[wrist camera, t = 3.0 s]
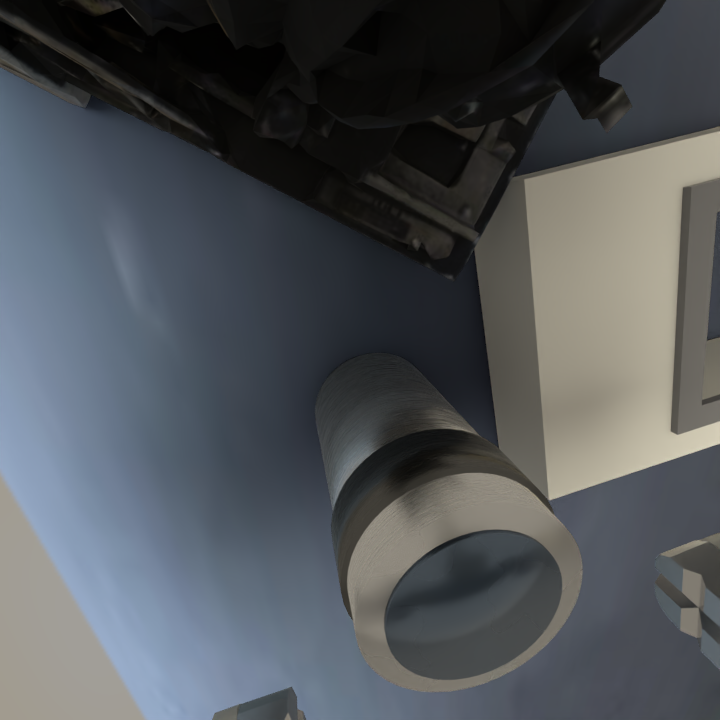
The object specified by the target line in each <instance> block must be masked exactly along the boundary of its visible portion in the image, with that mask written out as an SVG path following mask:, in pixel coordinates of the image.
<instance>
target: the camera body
mask: <svg viewBox="0 0 720 720" xmlns="http://www.w3.org/2000/svg"><path fill="white" fill-rule="evenodd" d="M717 212H720V126H719V127H715V128H711V129H707V130H703V131H699V132H695V133H691V134H687V135H683V136H679V137H675V138H671V139H667V140H663V141H658V142H654V143H650V144H646V145H642V146H638V147H634V148H630V149H626V150H622V151H618V152H614V153H610V154H606V155H602V156H598V157H594V158H590V159H586V160H582V161H578V162H574V163H569V164H565V165H561V166H557V167H553V168H549V169H545V170H541V171H537V172H533V173H529V174H525V175H521V176H517V177H513V178H512V179H511V181H510V183H509V185H508V187H507V189H506V191H505V193H504V194H503V196H502V198H501V200H500V202H499V204H498V206H497V208H496V210H495V212H494V214H493V216H492V217H491V219H490V221H489V223H488V225H487V226H486V228H485V230H484V232H483V234H482V236H481V237H480V239H479V241H478V243H477V245H476V247H475V248H474V250H475V259H476V267H477V275H478V283H479V291H480V299H481V307H482V315H483V323H484V331H485V339H486V347H487V355H488V364H489V372H490V380H491V388H492V396H493V404H494V412H495V420H496V428H497V436H498V444H499V449H500V450H501V451H502V452H503V453H504V454H505V455H506V456H507V457H508V458H509V459H510V460H511V461H512V462H513V463H514V464H515V465H516V466H517V467H518V468H519V469H520V470H521V472H522V473H523V474H524V475H525V476H526V477H527V478H528V479H529V480H530V481H531V482H532V483H533V484H534V485H535V486H536V487H537V488H538V489H539V490H540V491H541V493H542V494H543V495H544V496H545V497H546V498H547V499H548V500H552V499H555V498H558V497H561V496H564V495H567V494H570V493H573V492H576V491H579V490H582V489H585V488H588V487H591V486H594V485H597V484H600V483H603V482H606V481H609V480H612V479H615V478H618V477H621V476H624V475H627V474H630V473H633V472H636V471H639V470H642V469H645V468H648V467H651V466H654V465H657V464H660V463H663V462H666V461H669V460H672V459H675V458H678V457H681V456H684V455H687V454H690V453H693V452H696V451H699V450H702V449H705V448H708V447H711V446H714V445H717V444H720V337H718V338H715V339H711V340H708V341H707V331H708V318H709V305H710V293H711V280H712V267H713V255H714V242H715V229H716V216H717Z"/></svg>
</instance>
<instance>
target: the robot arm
mask: <svg viewBox="0 0 720 720" xmlns="http://www.w3.org/2000/svg"><path fill="white" fill-rule="evenodd" d="M655 568H656V569H657V570H658V571H659V572H660V573H661V574H660V575H659V577H658V579H657V580H656V582H655V595H656V598H657V600H658V602H659V604H660V606H661V608H662V610H663V611H664V613H665V614H666V615H667V617H668V618H669V619H670V620H671V621H672V622H673V623H674V624H675V625H676V626H677V627H678V629H679V630H681V631H683V632H685V633H687V634H690V635H692V636H694V637H696V638H697V640H698V643H699V647H700V650H701V652H702V653H703V654H704V655H705V656H706V657H707V658H708V659H709V660H710V661H711V662H712V663H713V664H714V665H715V666H716V667H717V668H718V669H719V670H720V533H716V534H714V535H711V536H708V537H706V538H703V539H701V540H696V541H693V542H690V543H688V544H685V545H683V546H680V547H677V548H675V549H672V550H669V551H667V552H664V553H662V554H659V555H658V557H657V558H656V559H655ZM212 720H306V718H305V715H304V713H303V711H301V710H298V709H297V696H296V694H295V692H294V690H293V688H292V687H289V688H286V689H284V690H281V691H278V692H275V693H272V694H269V695H266V696H263V697H260V698H257V699H254V700H252V701H249V702H246V703H243V704H239V705H236V706H233V707H230V708H228V709H225V710H222V711H219V712H217V713H215V714H214V716H213V719H212Z"/></svg>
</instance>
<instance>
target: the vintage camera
mask: <svg viewBox="0 0 720 720" xmlns="http://www.w3.org/2000/svg"><path fill="white" fill-rule="evenodd" d="M665 1H666V0H0V67H1V68H3V69H5V70H7V71H9V72H11V73H13V74H15V75H17V76H18V77H20V78H22V79H24V80H26V81H28V82H30V83H32V84H34V85H36V86H38V87H40V88H42V89H44V90H46V91H48V92H50V93H51V94H53V95H55V96H57V97H59V98H61V99H63V100H65V101H67V102H69V103H71V104H74V105H77V106H80V107H83V108H86V106H87V104H88V102H89V99H90V97H91V95H93V96H95V97H97V98H99V99H101V100H103V101H105V102H107V103H109V104H111V105H113V106H115V107H117V108H119V109H121V110H123V111H124V112H126V113H128V114H130V115H132V116H134V117H136V118H138V119H140V120H142V121H144V122H146V123H148V124H150V125H152V126H154V127H156V128H158V129H160V130H163V131H167V132H169V133H171V134H173V135H175V136H177V137H179V138H181V139H183V140H185V141H187V142H189V143H190V144H192V145H194V146H196V147H198V148H200V149H202V150H204V151H207V152H209V153H211V154H212V155H214V156H216V157H217V158H219V159H220V160H222V161H224V162H225V163H227V164H229V165H231V166H233V167H234V168H236V169H238V170H240V171H242V172H244V173H246V174H248V175H250V176H252V177H254V178H256V179H258V180H260V181H262V182H264V183H266V184H268V185H269V186H271V187H273V188H275V189H277V190H279V191H281V192H283V193H285V194H287V195H289V196H291V197H293V198H295V199H296V200H298V201H300V202H302V203H304V204H306V205H308V206H310V207H312V208H313V209H315V210H317V211H319V212H321V213H323V214H325V215H327V216H329V217H331V218H332V219H334V220H336V221H338V222H340V223H342V224H344V225H346V226H348V227H349V228H351V229H353V230H355V231H357V232H359V233H361V234H363V235H365V236H367V237H369V238H371V239H373V240H375V241H377V242H379V243H381V244H383V245H385V246H387V247H389V248H391V249H392V250H394V251H396V252H398V253H400V254H402V255H404V256H406V257H408V258H410V259H412V260H414V261H416V262H418V263H420V264H422V265H424V266H426V267H427V268H429V269H431V270H433V271H435V272H437V273H439V274H440V275H442V276H444V277H446V278H448V279H450V280H452V281H455V280H456V278H457V276H458V275H459V273H460V272H461V270H462V269H463V267H464V265H465V264H466V262H467V261H468V259H469V258H470V256H471V254H472V252H473V250H474V248H475V247H476V245H477V243H478V241H479V239H480V237H481V236H482V234H483V232H484V230H485V228H486V226H487V225H488V223H489V221H490V219H491V217H492V216H493V214H494V212H495V210H496V208H497V206H498V204H499V202H500V200H501V198H502V196H503V194H504V193H505V191H506V189H507V187H508V185H509V183H510V181H511V179H512V177H513V175H514V173H515V172H516V170H517V168H518V166H519V164H520V162H521V160H522V158H523V156H524V154H525V152H526V151H527V149H528V147H529V145H530V143H531V141H532V139H533V137H534V135H535V133H536V131H537V130H538V128H539V126H540V124H541V122H542V120H543V118H544V116H545V114H546V112H547V110H548V109H549V107H550V105H551V103H552V101H553V99H554V97H555V95H556V94H557V93H558V92H559V91H561V90H563V89H564V90H566V91H567V93H568V95H569V97H570V98H571V100H572V102H573V104H574V105H575V107H576V109H577V111H578V112H579V114H580V116H581V118H582V119H583V120H586V119H595V118H598V120H599V121H600V123H601V125H602V126H603V128H604V130H605V131H606V133H608V131H609V130H610V129H611V128H612V127H613V126H614V125H615V124H616V123H617V122H618V121H619V120H620V119H621V118H622V117H623V116H624V115H625V114H626V113H627V111H628V110H629V109H630V108H631V107H632V105H631V103H630V101H629V99H628V97H627V95H626V93H625V91H624V89H623V87H622V86H621V84H618V83H615V82H612V81H610V80H607V79H604V78H602V77H599V68H600V65H601V64H602V63H603V62H604V61H605V60H606V59H607V58H608V57H610V56H611V55H612V54H613V53H614V52H615V51H616V50H617V49H618V48H620V47H621V46H622V45H623V44H624V43H625V42H626V41H627V40H628V39H630V38H631V37H632V36H633V35H634V34H635V33H636V32H637V31H638V30H639V29H641V28H642V27H643V26H644V25H645V24H646V23H647V22H648V21H649V20H651V19H652V18H653V17H654V16H655V15H656V14H657V13H658V12H659V11H660V9H661V8H662V6H663V5H664V3H665Z"/></svg>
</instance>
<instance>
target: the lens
mask: <svg viewBox="0 0 720 720" xmlns="http://www.w3.org/2000/svg"><path fill="white" fill-rule="evenodd" d="M315 420H316V425H317V430H318V436H319V441H320V446H321V452H322V457H323V462H324V468H325V473H326V478H327V484H328V489H329V494H330V500H331V505H332V510H333V514H332V522H331V532H332V541H333V547H334V553H335V559H336V564H337V570H338V576H339V582H340V588H341V594H342V598H343V602H344V605H345V607H346V610H347V612H348V614H349V616H350V617H351V619H352V620H353V622H354V628H355V633H356V638H357V642H358V646H359V649H360V651H361V653H362V655H363V657H364V659H365V660H366V662H367V663H368V665H369V666H370V667H371V668H372V669H373V670H374V671H375V672H376V673H377V674H379V675H380V676H381V677H383V678H384V679H386V680H387V681H389V682H391V683H393V684H396V685H398V686H401V687H404V688H407V689H412V690H417V691H425V692H447V691H455V690H461V689H466V688H470V687H474V686H477V685H480V684H483V683H486V682H489V681H491V680H494V679H496V678H498V677H501V676H503V675H505V674H506V673H508V672H510V671H512V670H514V669H516V668H517V667H519V666H520V665H522V664H523V663H525V662H526V661H528V660H529V659H530V658H532V657H533V656H534V655H536V654H537V653H538V652H539V651H540V650H541V649H542V648H543V647H545V646H546V645H547V644H548V643H549V642H550V640H551V639H552V638H553V637H554V636H555V635H556V634H557V633H558V631H559V630H560V629H561V627H562V626H563V625H564V623H565V622H566V620H567V618H568V617H569V615H570V614H571V612H572V609H573V607H574V605H575V603H576V601H577V598H578V595H579V592H580V587H581V582H582V560H581V555H580V551H579V548H578V545H577V543H576V542H575V540H574V538H573V536H572V535H571V534H570V532H569V531H568V530H567V529H566V527H565V526H564V525H563V524H562V523H561V522H560V521H559V520H558V519H557V518H556V517H555V516H554V512H553V509H552V508H551V506H550V504H549V502H548V500H547V499H546V497H545V496H544V495H543V494H542V493H541V491H540V490H539V489H538V488H537V487H536V486H535V485H534V484H533V483H532V482H531V481H530V480H529V479H528V478H527V477H526V476H525V475H524V474H523V473H522V472H521V470H520V469H519V468H518V467H517V466H516V465H515V464H514V463H513V462H512V461H511V460H510V459H509V458H508V457H507V456H506V455H505V454H504V453H503V452H502V451H501V450H500V449H499V448H498V447H497V446H495V445H494V444H493V443H491V442H490V441H488V440H487V439H485V438H483V437H481V436H480V435H479V434H478V433H477V432H476V431H475V430H474V429H473V428H472V427H471V426H470V425H469V424H468V422H467V421H466V420H465V419H464V418H463V417H462V416H461V415H460V414H459V413H458V412H457V411H456V410H455V409H454V407H453V406H452V405H451V404H450V403H449V402H448V401H447V400H446V399H445V398H444V397H443V396H442V395H441V394H440V392H439V391H438V390H437V389H436V388H435V387H434V386H433V385H432V384H431V383H430V382H429V381H428V380H427V379H426V377H425V376H424V375H423V374H422V373H421V372H420V371H419V370H418V369H417V368H416V367H415V366H414V365H413V364H411V363H410V362H408V361H407V360H405V359H403V358H401V357H399V356H395V355H392V354H387V353H369V354H364V355H360V356H357V357H354V358H352V359H350V360H348V361H346V362H344V363H343V364H341V365H340V366H339V367H337V368H336V369H335V370H334V371H333V372H332V373H331V374H330V375H329V376H328V377H327V379H326V380H325V382H324V383H323V385H322V387H321V389H320V391H319V393H318V396H317V400H316V404H315Z"/></svg>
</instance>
